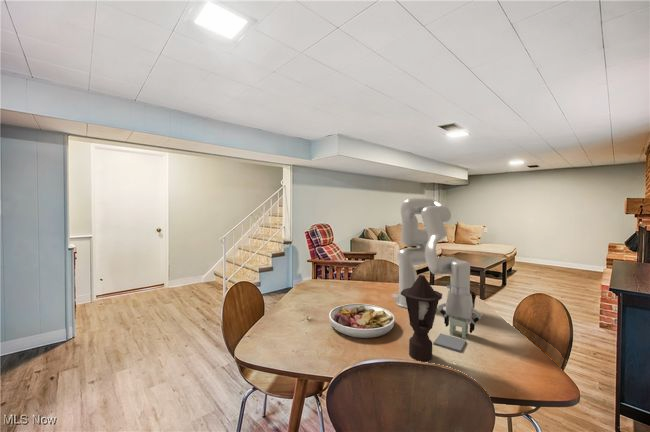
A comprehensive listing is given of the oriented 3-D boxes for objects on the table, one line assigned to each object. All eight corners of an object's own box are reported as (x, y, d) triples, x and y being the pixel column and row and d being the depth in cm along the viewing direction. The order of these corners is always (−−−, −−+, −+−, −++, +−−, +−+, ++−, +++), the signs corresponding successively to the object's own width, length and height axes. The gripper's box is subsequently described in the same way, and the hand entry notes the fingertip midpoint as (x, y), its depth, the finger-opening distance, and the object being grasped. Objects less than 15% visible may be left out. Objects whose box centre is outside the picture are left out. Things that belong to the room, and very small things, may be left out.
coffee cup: (478, 322, 133) (479, 295, 132) (459, 320, 135) (460, 294, 134) (472, 315, 141) (473, 289, 141) (455, 313, 143) (455, 288, 143)
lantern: (450, 366, 97) (451, 280, 95) (408, 368, 96) (409, 281, 94) (430, 344, 112) (431, 270, 110) (394, 346, 110) (395, 271, 109)
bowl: (356, 308, 151) (356, 294, 151) (406, 325, 130) (407, 309, 129) (315, 325, 130) (315, 308, 130) (367, 349, 109) (368, 329, 108)
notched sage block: (449, 334, 120) (449, 318, 120) (453, 329, 125) (453, 314, 125) (464, 338, 117) (465, 322, 116) (467, 333, 121) (468, 317, 121)
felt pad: (433, 344, 112) (433, 342, 112) (440, 335, 120) (440, 333, 120) (460, 352, 106) (460, 350, 106) (466, 342, 114) (466, 340, 114)
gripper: (436, 288, 122) (435, 326, 123) (481, 295, 112) (480, 337, 112) (441, 284, 128) (440, 320, 129) (484, 291, 118) (483, 331, 118)
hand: (458, 328), depth 121 cm, fingers open, 9 cm apart
